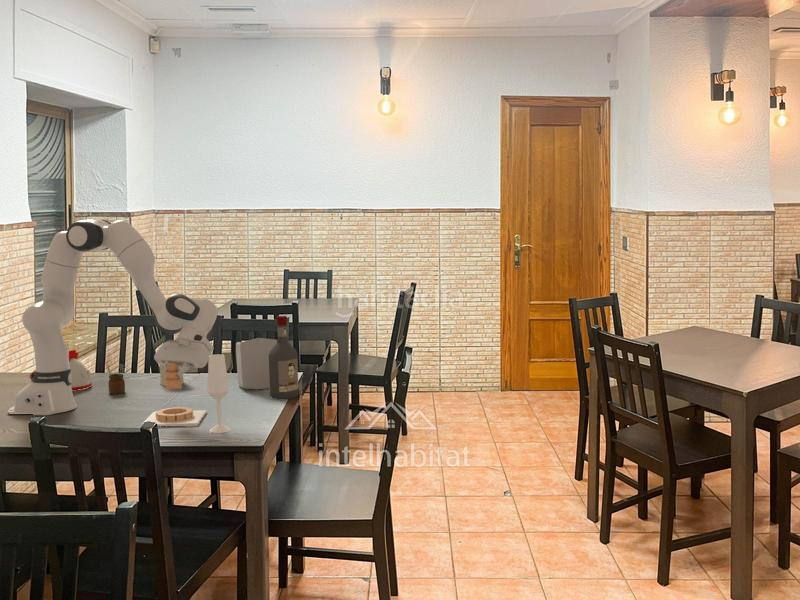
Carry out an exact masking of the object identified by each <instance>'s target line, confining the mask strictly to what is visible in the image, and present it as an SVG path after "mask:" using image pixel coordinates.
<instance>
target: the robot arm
mask: <svg viewBox="0 0 800 600" xmlns="http://www.w3.org/2000/svg"><path fill="white" fill-rule="evenodd" d="M108 249H109V250H110V251H111V252H112V253H113V254H114V256H115V257H116V259H118V261H119V262H120V264H122V265H121V266H123V268H124V269H125V271H126V272H127V274H128V275H129V277H130V278H131V280H132V282H133V284H134V285H135V287H136V289H137V290H138V292H139V293H140V295H141V296H142V299H143V300H144V301H145V302H146V305H147V306H148V308H149V309H150V311H151V312H152V315H153V319H154V323H155V325H156V327H157V328H158V330H159V331H160V332H162V333H163V334H166V335H176V334H177V336H176V339H174V340H173V339H169V340H167V341H164V342H163V343H162V344H161V346H159V348H158V350H156V353H154V355H153V359H154V361H155V362H156V363H157V364H158V365H160V364H161V365H164V370H163V372H162V373H163V375H166V371H167V364H169V363H177V364H178V366H183V367H182V368H181V369H180V370H177V372H176V375H177V376H178V377H182V376H183V377H184V374H185V373H186V372H187V371H189V370H190V368H196V369H197V368H198V369H203V368H204V367H205V366H206V365H207V364H208V363H209V356H210V355H212V352H213V351H214V349H215V348H214V345H213V344H212V343H211V342H210V340H208V338H207V336H208V334H209V332H211V331H212V328H213V326H214V325H215V322H216V320H217V317H218V308H217V306H216V305H215V304H214V302H213V301H212V300H209V299H208V298H203V297H202V298H195V297H194V298H193V297H189V296H187V295H185V294H183V293H174V294H171V295H170V296H168V297H167V298H166V297H165V296H164V293H163V292H162V291H161V289H160V288H159V286H158V285H157V282H156V279H155V265H156V264H155V262H156V259H155V258H156V257H155V254H154V252H153V249H152V248H151V246H150V244H149V243H148V242H147V241H146V240H145V238H144V237H143V236H142V234H141V233H139V231H138V230H137V229H136V228H135V227H134V226H133V225H132V224H131V223H129V221H126V220H124V219H123V220H122V219H119V220H115V221H113V222H110V221H108V220H105V219H95V218H90V219H85V220H84V219H81V220H76V221H75V222H73V223H71V224H70V225H69V226H68V228H67V229H66V230H63V231H62V230H61V231H58V232H57V233H56V234H55V235H54V236H53V238H52V240H51V242H50V245H49V247H48V249H47V250H48V251H47V254H46V257H45V260H44V265H43V269H42V273H41V278H40V283H41V285H42V298H41V301H38V302H35V303H33V304H31V305H30V306H28V307H27V308H26V309H25V311H23V313H22V317H21V319H22V320H21V322H22V324H23V327H24V329H25V330H27V331H28V334H29V337H30V340H31V342H32V346H33V350H34V352H33V353H34V359H35V361H34V362H35V370H33V371H32V372H31V373H30V374H29V379H30V382H29V383H28V384H27V385H25V386H24V387H23V388H22V389H21V390H20V391H18V392H17V393H16V395H15V397H14V405H13V406H11V407H10V408H9V409H8V410H7V413H8V412H9V413H26V414H33V415H32V416H51V415H54V414H60V413H64V412H69V411H72V410H75V409H77V407H78V406H77V403H76V401H75V398H74V395H73V391H72V388H71V383H72V375H71V369H70V368H69V347H68V344H67V343H66V342H65V340H64V337H63V334H62V328H64V327H67V326H68V325H69V324H70V323H71V322H72V321H73V319H74V317H75V315H76V309H75V306H74V290H75V283H76V279H77V275H78V271H79V267H80V263H81V259H82V256H83V255H84V254H85V252H88V253H89V252H93V253H94V252H99V251H105V250H108ZM10 410H12V411H10Z"/></svg>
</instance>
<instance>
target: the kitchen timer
mask: <svg viewBox="0 0 800 600" xmlns="http://www.w3.org/2000/svg"><path fill="white" fill-rule="evenodd" d="M68 353H69V368H70V369H71V375H72V383H71V388H72V390H78V389H83V388H87V387H89V386H91V385H92V384H93V383H92V378H91V370H89V369H87V367H86V366H85V364H83V362H82V361H80V360H78V356H79V352H78V351H77V350H76V349H71V350H68ZM92 386H93V385H92Z"/></svg>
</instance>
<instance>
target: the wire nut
mask: <svg viewBox="0 0 800 600" xmlns="http://www.w3.org/2000/svg"><path fill="white" fill-rule="evenodd" d="M177 370H178V364H177V363H169V364H167V371H166V379H165V386H164V387H165V388H164V389H165V390H179V389H182V387H183V386H182V385H183V384H181V378H180V377H178V376H177V375H176V372H177Z"/></svg>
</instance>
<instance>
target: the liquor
mask: <svg viewBox="0 0 800 600" xmlns="http://www.w3.org/2000/svg"><path fill="white" fill-rule="evenodd" d="M287 318H288V317H287V315H277V316H276V325H277V339H276V340H277V343H276V345H275V346H274V347H273V348H272V350H271V351H270V353H269V378H270V388H269V396H270V398H271V397H272V399H275V398H276V400H279V399H285V400H291V399H294V398H297V397H298V395H299V372H298V371H299V367H298V365H299V364H298V363H299V362H298V352H297V349H295V348H294V346H293V345H292V344H291V343H290V342H289V340H288V327H287V325H288V319H287Z"/></svg>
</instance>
